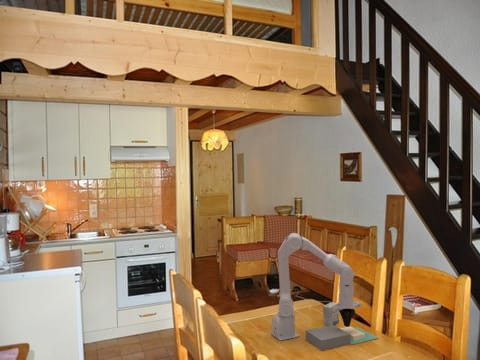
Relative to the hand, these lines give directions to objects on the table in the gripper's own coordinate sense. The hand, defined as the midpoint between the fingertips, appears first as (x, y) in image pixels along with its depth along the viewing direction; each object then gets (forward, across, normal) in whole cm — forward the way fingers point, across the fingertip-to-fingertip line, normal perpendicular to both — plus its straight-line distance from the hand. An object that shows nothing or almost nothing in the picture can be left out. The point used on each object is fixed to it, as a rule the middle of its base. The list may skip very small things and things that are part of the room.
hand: (346, 326), depth 156 cm
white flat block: (+3, +3, 0) cm, 4 cm away
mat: (+5, +4, 0) cm, 6 cm away
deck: (+5, -10, 0) cm, 11 cm away
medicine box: (+5, +4, +16) cm, 17 cm away
